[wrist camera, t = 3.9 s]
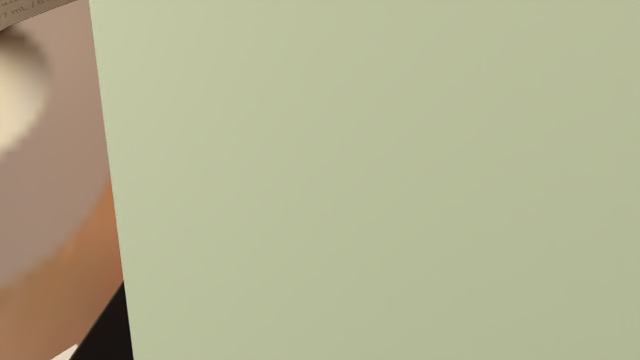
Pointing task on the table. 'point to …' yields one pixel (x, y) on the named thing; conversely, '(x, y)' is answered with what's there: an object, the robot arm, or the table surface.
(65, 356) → the white tile
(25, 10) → the skincare box
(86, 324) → the table surface
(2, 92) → the table surface
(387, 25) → the tall sage block
